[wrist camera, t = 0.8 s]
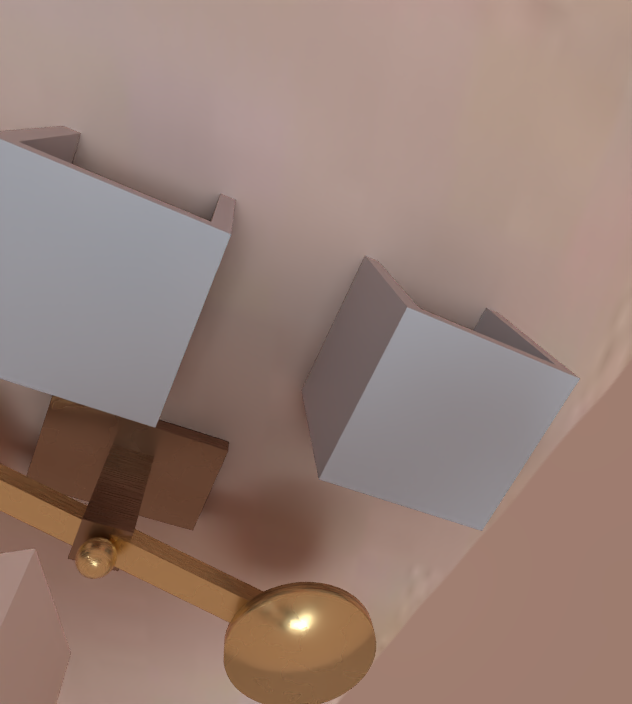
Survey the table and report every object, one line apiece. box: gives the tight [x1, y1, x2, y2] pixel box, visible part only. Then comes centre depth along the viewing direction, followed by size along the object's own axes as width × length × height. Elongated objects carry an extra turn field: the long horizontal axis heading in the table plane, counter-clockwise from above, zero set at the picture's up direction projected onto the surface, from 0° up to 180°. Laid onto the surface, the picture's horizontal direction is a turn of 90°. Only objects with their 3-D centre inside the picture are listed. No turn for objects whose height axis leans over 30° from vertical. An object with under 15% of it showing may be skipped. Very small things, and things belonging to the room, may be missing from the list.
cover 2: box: [302, 256, 580, 531], centre depth 30 cm, size 9×9×9 cm
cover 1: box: [0, 126, 236, 427], centre depth 26 cm, size 9×9×9 cm
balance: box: [0, 395, 376, 704], centre depth 29 cm, size 27×7×11 cm, turn 66°
